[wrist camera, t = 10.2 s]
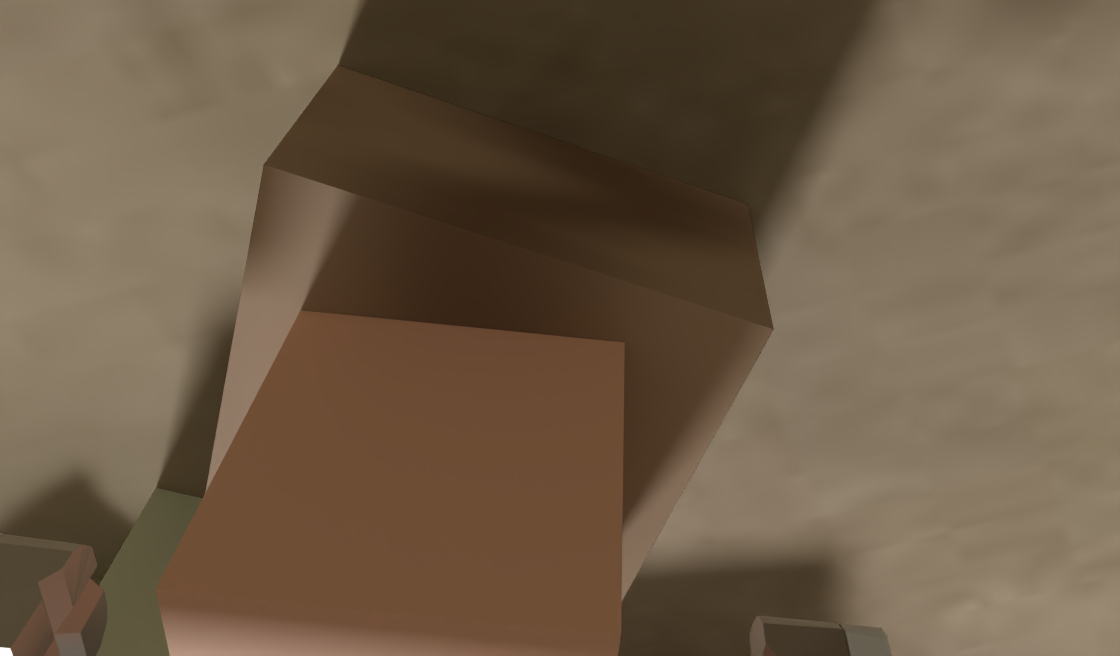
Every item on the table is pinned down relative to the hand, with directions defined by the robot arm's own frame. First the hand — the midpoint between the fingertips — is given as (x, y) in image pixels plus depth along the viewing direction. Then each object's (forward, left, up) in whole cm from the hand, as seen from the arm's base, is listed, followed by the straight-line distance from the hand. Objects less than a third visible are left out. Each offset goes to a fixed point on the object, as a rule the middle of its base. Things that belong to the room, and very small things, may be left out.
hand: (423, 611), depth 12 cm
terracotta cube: (0, 0, -3) cm, 3 cm away
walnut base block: (0, 0, -7) cm, 7 cm away
